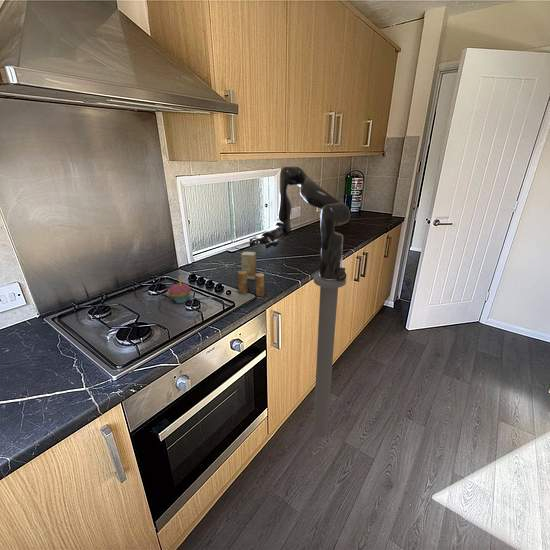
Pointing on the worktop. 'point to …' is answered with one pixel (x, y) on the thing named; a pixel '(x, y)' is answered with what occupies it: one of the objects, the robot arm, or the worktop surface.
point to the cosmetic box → (249, 264)
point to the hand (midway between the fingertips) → (258, 245)
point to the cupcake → (179, 292)
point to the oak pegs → (258, 278)
